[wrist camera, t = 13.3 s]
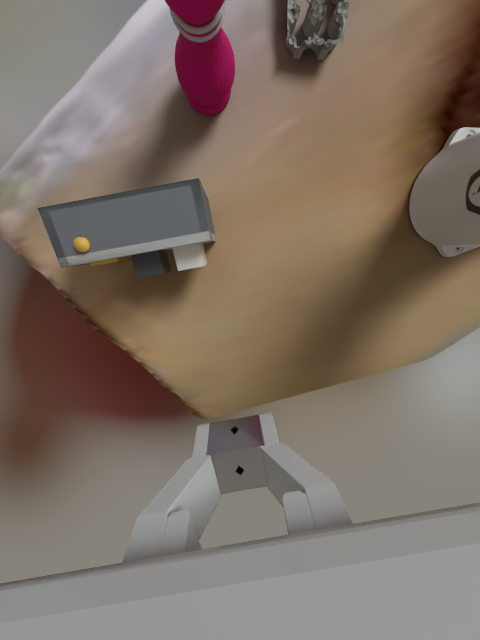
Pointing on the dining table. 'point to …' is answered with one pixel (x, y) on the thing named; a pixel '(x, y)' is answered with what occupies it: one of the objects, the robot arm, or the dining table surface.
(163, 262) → the black button
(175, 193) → the console
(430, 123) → the dining table surface
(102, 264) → the amber button
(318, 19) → the egg carton
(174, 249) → the white button
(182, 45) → the pepper mill
